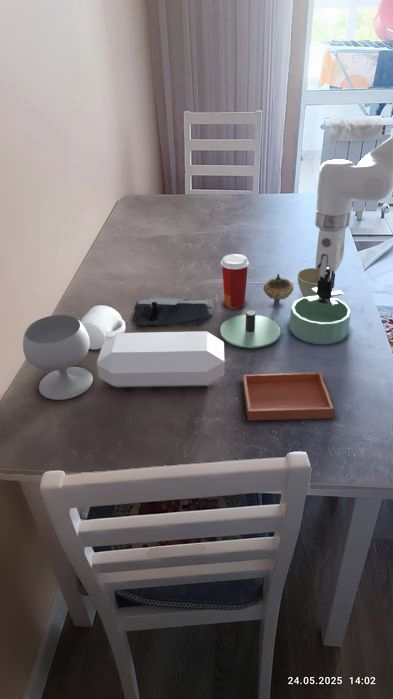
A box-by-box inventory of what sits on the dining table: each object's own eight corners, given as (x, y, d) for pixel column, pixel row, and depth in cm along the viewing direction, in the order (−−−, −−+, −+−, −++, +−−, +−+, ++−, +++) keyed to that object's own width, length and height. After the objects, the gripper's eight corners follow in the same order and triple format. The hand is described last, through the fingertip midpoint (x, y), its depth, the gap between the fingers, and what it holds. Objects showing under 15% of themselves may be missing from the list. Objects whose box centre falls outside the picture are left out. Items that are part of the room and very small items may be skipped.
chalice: (29, 406, 105) (11, 349, 96) (41, 368, 116) (26, 314, 108) (94, 401, 105) (82, 344, 97) (99, 363, 117) (89, 309, 108)
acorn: (290, 299, 140) (293, 267, 134) (292, 313, 133) (295, 280, 128) (262, 298, 141) (263, 267, 135) (262, 313, 134) (264, 280, 128)
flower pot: (293, 290, 145) (295, 268, 141) (327, 289, 144) (330, 267, 140) (297, 306, 136) (300, 283, 132) (333, 306, 136) (336, 283, 132)
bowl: (339, 314, 132) (342, 294, 129) (354, 343, 120) (357, 322, 117) (286, 315, 132) (287, 296, 129) (295, 345, 120) (297, 324, 117)
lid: (275, 317, 132) (277, 297, 129) (284, 349, 119) (286, 328, 116) (218, 319, 132) (218, 299, 129) (221, 351, 119) (221, 330, 116)
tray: (319, 381, 108) (320, 372, 107) (332, 418, 98) (333, 408, 97) (242, 383, 108) (243, 374, 107) (247, 420, 98) (248, 411, 97)
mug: (75, 347, 123) (69, 320, 119) (91, 328, 131) (86, 302, 126) (119, 352, 120) (114, 325, 116) (132, 333, 128) (128, 306, 123)
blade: (338, 290, 125) (341, 262, 121) (348, 308, 117) (352, 278, 113) (301, 292, 125) (303, 264, 121) (308, 310, 117) (311, 281, 113)
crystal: (224, 359, 100) (91, 361, 101) (225, 395, 105) (98, 397, 106) (223, 323, 112) (103, 325, 113) (223, 357, 117) (109, 359, 118)
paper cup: (251, 300, 140) (253, 255, 132) (242, 312, 135) (243, 266, 127) (226, 295, 143) (226, 251, 135) (216, 307, 138) (215, 262, 130)
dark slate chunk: (212, 329, 128) (212, 313, 125) (131, 328, 130) (129, 313, 127) (215, 301, 141) (215, 287, 138) (140, 301, 142) (139, 287, 140)
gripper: (342, 233, 102) (333, 308, 112) (355, 208, 114) (346, 279, 124) (307, 229, 105) (301, 303, 115) (324, 206, 117) (317, 275, 127)
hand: (325, 290), depth 120 cm, fingers closed on blade, 3 cm apart
